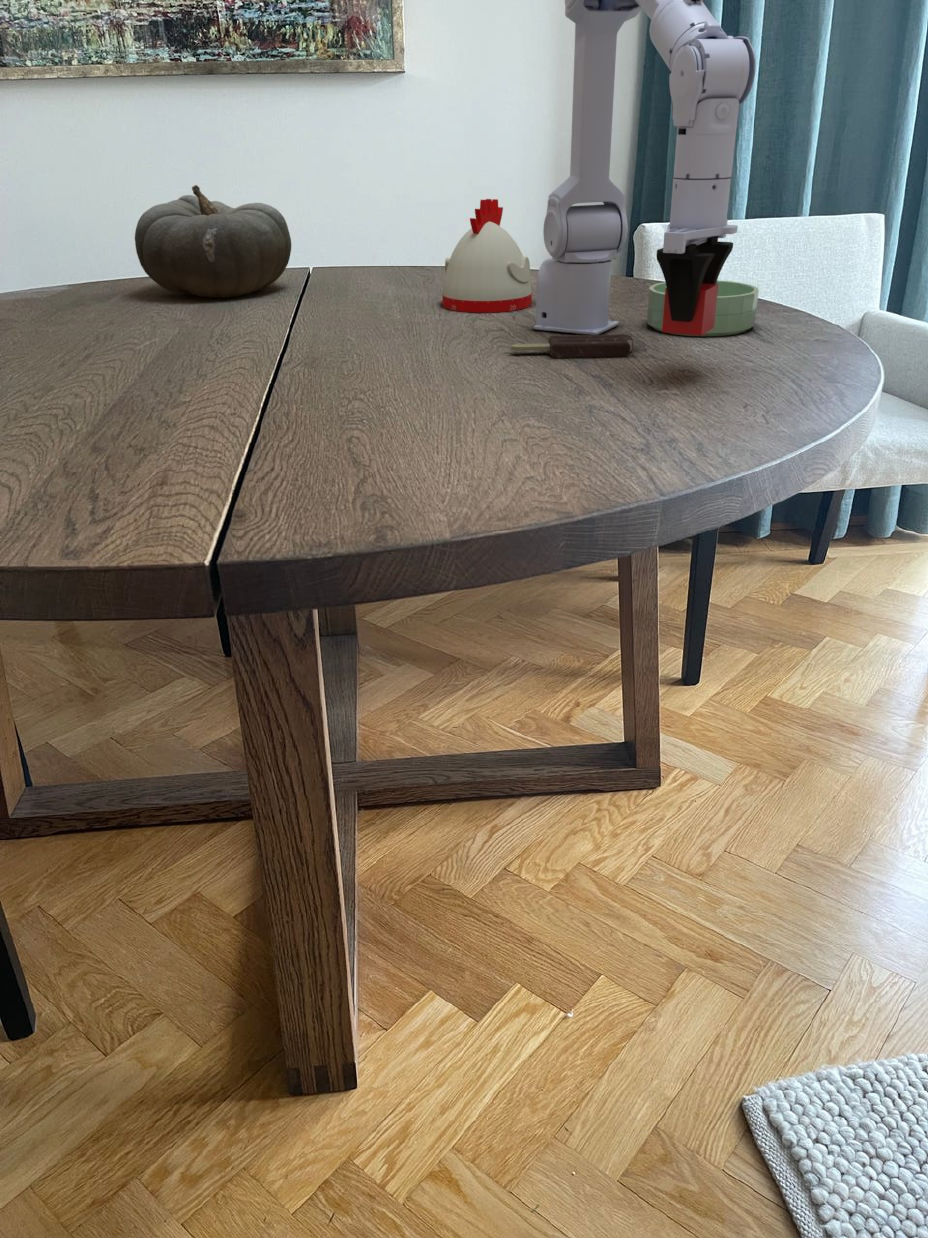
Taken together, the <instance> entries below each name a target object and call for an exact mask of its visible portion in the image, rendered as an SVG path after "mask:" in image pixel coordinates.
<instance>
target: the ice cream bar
mask: <svg viewBox="0 0 928 1238" xmlns="http://www.w3.org/2000/svg"><path fill="white" fill-rule="evenodd" d="M510 350H511V351H513V352H523V351H524V352H526V351H527V352H528V351H549V355H550V356H551V358H552V359H580V358H581V359H583V358H586V359H587V358H590V359H591V358H625V357H628V356H630V354H631V353H632V352H633V350H634V339H633V337H632V336H631V335H629V334H623V333H618V334H615V333H613V334H611V333H610V334H598V335H589V334H564V335H562V334H561V335H560V334H559V335H550V336H549V337H548V343H514V344H510Z"/></svg>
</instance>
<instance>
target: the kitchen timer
mask: <svg viewBox="0 0 928 1238" xmlns="http://www.w3.org/2000/svg"><path fill="white" fill-rule="evenodd" d="M479 201H480V202H479V208H474V215H475V217H474V218H473V217H469V222H470V227H471V228H470V229H468V230H467V231H466V232H465V233H464V234H463V236H462V237H461V238H460V240H458V242H457V244H456V245H455V247H454V249H453V251H452V253H451V255H450V257H446V258H445V261H444V272H445V275H444V279H443V284H442V292H441V294H442V295H441V296H442V299H441V300H442V306H443V308H444V309H447V310H449V311H455V312H463V313H479V314H480V313H481V314H483V313H504V312H512V311H519V310H523V309H527V308H528V307H531V306H532V303H533V302H532V301H533V296H532V295H533V291H532V289H533V288H532V281H531V278H530V277H531V264H530V259H529V257H528V256H524V255H523V253H522V251H521V249H520V246H519V245H518V244H517V242H516V240H515V239H514V238H513V237H512V236H511V234H510V233H509V232H508V231H507V230H505V229H504V228H503V227H502V226H501V223H502V217H503V211H504V207H503V206H499V199H497V198H485V199H480V200H479Z"/></svg>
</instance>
